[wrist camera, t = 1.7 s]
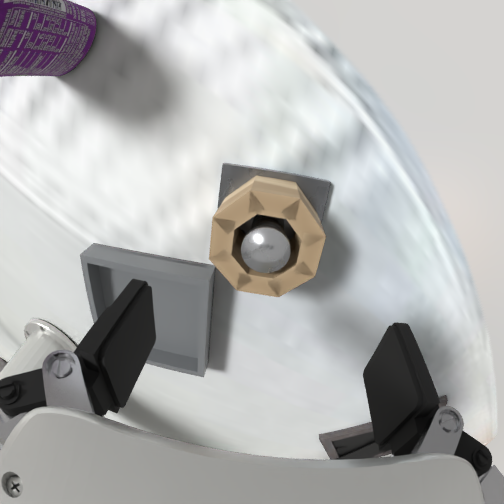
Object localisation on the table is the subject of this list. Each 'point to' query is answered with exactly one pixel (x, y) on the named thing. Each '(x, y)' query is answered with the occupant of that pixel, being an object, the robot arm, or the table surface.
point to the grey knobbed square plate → (267, 227)
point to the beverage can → (43, 36)
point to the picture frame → (356, 441)
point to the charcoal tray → (158, 300)
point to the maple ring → (276, 205)
